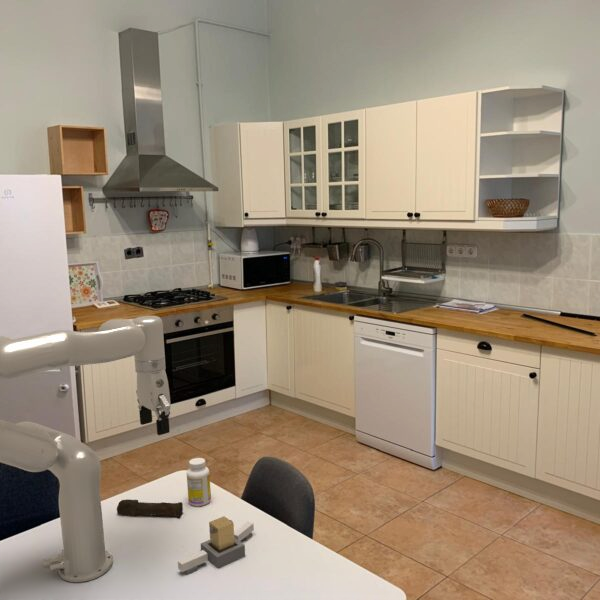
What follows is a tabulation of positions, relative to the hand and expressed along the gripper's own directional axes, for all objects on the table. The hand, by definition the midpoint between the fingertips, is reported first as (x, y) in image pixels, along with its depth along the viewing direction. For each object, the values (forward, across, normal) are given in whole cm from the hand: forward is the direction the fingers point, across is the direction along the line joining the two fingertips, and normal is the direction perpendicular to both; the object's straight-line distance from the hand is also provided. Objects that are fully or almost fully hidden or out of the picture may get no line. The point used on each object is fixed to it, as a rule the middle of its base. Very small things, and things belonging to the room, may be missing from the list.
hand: (154, 428), depth 164 cm
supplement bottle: (+31, +10, -17) cm, 36 cm away
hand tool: (+31, +12, -2) cm, 33 cm away
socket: (+30, -19, -7) cm, 36 cm away
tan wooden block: (+30, -19, -7) cm, 36 cm away
